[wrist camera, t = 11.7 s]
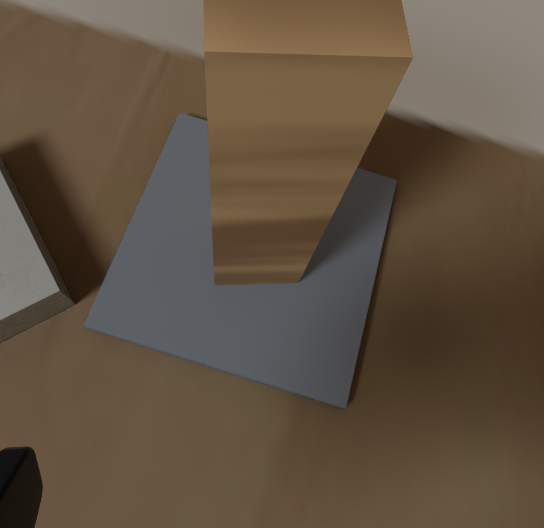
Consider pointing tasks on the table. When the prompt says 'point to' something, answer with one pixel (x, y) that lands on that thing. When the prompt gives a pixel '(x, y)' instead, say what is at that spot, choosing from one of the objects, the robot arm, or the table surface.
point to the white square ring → (25, 267)
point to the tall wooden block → (291, 121)
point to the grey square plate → (242, 298)
